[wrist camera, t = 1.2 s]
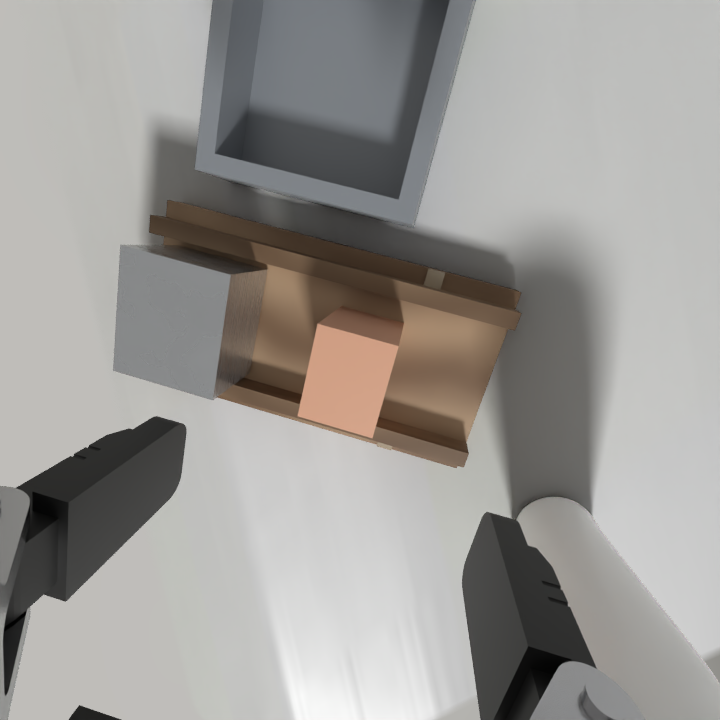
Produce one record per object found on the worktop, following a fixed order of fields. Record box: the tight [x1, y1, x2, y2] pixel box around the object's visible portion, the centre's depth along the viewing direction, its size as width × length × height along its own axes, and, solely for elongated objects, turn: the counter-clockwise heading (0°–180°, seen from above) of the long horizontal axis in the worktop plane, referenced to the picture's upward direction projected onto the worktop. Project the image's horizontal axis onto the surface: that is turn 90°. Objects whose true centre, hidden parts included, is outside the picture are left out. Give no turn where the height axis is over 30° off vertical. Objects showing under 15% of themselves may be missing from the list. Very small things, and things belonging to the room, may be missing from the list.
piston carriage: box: [113, 245, 268, 400], centre depth 24 cm, size 7×6×5 cm
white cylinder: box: [516, 497, 720, 720], centre depth 21 cm, size 7×7×15 cm
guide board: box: [149, 200, 521, 468], centre depth 25 cm, size 12×22×3 cm, turn 76°
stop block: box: [298, 306, 404, 438], centre depth 22 cm, size 5×4×6 cm
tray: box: [195, 0, 476, 228], centre depth 21 cm, size 12×12×4 cm
